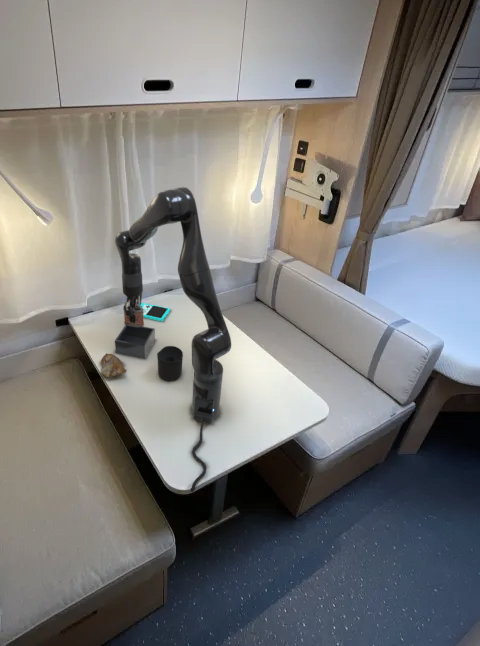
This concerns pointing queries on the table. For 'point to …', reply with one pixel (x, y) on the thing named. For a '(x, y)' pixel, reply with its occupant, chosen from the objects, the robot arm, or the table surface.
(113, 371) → the decorative stone
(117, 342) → the grey square tray
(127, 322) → the lighter
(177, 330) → the table surface
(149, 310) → the handheld game console
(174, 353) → the pen holder
